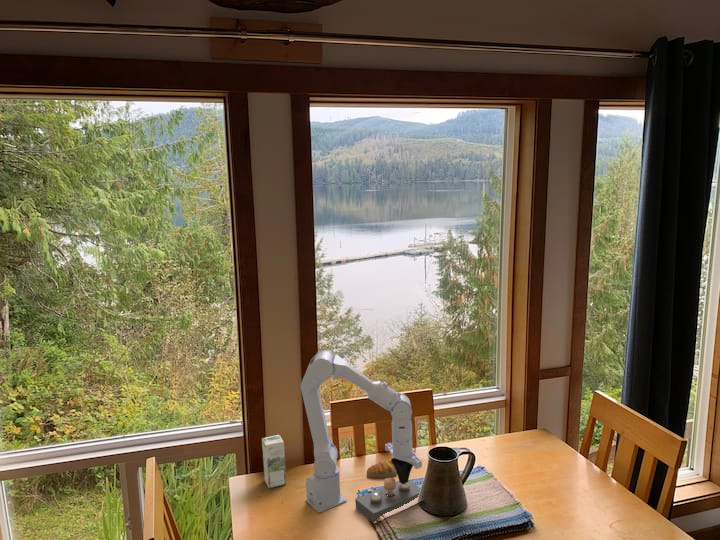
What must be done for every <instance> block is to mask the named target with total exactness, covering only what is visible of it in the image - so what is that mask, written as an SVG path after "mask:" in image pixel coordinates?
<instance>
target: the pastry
mask: <svg viewBox="0 0 720 540" xmlns="http://www.w3.org/2000/svg"><path fill="white" fill-rule="evenodd" d="M366 475H367V476H368V477H369V478H372V479H375V478H376V479H384V478H385V479H386V478H393V477H394V476H395V477H396V475H397V472H396V469H395V467H394V465H393V464H392V462H391V459H389V460H382V461H381V460H380V461H378V462H377V463H376V464H373V465H371V466H370V467H368V468H367V470H366Z"/></svg>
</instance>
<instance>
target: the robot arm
mask: <svg viewBox="0 0 720 540" xmlns="http://www.w3.org/2000/svg"><path fill="white" fill-rule="evenodd" d="M332 376H333V377H332ZM331 377H332V380H338V379H345V381H348V382H350V383H352V384H353V385H355V386H356V387H359V388H360V389H362V390H363V391H365V392H366V393H367V397H368V399H369V400H370V401H373V402H374V403H376V404H377V405H379V406H380V407H381V408H383V409H384V410H385V411H389V412H390V415H391V417H392V419H391V420H392V421H391V435H392V437H391V439H392V442H388V443H385V444H384V450H385V451H386V452H389V453H390V455H391V456H392V457H393V458H391V459H390V460H391V462H392V464H393V465H394V467H395V469H396V472H397V474H396V475H397V477H398V481H400V483H402V484H404V483H407V482H408V480H409V478H410V475H411V472H412V469H413V467H414V469H416V470H419V469H421V468H423V461H422V460H421V459H420V458H419V457H418V456H417V454H416V453H415V452H416V448H414V447H413V424H412V414H413V410H412V405H411V400H410V398H409V397H408V396H407V394H405V393H402V392H399V391H396V390H395V389H393V388H391V387H390V386H388V382H386V381H380V380H375V381H373V380H371V379H370V378H369V377H368V376H366V375H365V374H363V373H362V372H361V371H359V370H358V369H357V368H355V367H354V366H353V365H351V364H350V363H348V362H347V361H346V360H344V359H343V358H342V357H341V356H339V355H337V354H334V353H333V352H332V351H330V350H328V349H321V350H319V351H318V352H316V354H315V355H314V356H313V357H312V358H311V359H310V362H309V364H308V366H307V369H306V371H305V373H304V376H303V378H302V380H301V383H300V389H301V394H302V398H303V399H302V400H303V403H304V408H305V413H306V416H307V421H308V425H309V426H308V427H309V430H310V432H311V433H310V434H311V438H312V442H313V456H314V463H313V473H312V474H311V475H310V476H308V477H307V478H306V480H305V490H306V498H305V502H306V503H307V504H309V506H311V507H312V508H313V509H314V510H315V511H316V512H317V513H321V512H322V513H323V512H324V511H327V510H329V509H331V508H332V509H333V508H334V507H336V506H339V505H341V504H344V503H345V502H347V499H346V498H345V496H343V495H342V494H341V481H340V468H339V466H338V465H337V462H338V461H337V460H338V457H339V451H338V449H337V447H336V446H335V444H334V443H333V439H332V437H331V436H330V431H329V428H328V423H327V418H326V413H325V411H324V406H323V402H322V396H321V393H320V386H321V385H322V384H323V383H324V382H326V381H327V380H329V379H330V378H331Z"/></svg>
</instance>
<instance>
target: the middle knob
mask: <svg viewBox="0 0 720 540" xmlns="http://www.w3.org/2000/svg"><path fill="white" fill-rule="evenodd" d="M395 482H396V479H395V478H394V477H386V478H385V479H384V480H383V483H384V484H383V487H384V488H385V489H386V490H388V497H389V498H390V497H393V490H394V489H395V488H396V483H395Z"/></svg>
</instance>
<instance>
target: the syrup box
mask: <svg viewBox="0 0 720 540" xmlns="http://www.w3.org/2000/svg"><path fill="white" fill-rule="evenodd" d="M261 447H262V450H261V451H262V461H263V462H262V464H263V477H264V478H263V479H264V482H265V484H266V485H267V488H268V489H269V490H270V489H273V488H277V487H281V486H284V485H287V473H286V459H285V458H286V457H285V442H284V439H282V437H281V435H280V434H277V435H271V436H266V437H262V438H261Z"/></svg>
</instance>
